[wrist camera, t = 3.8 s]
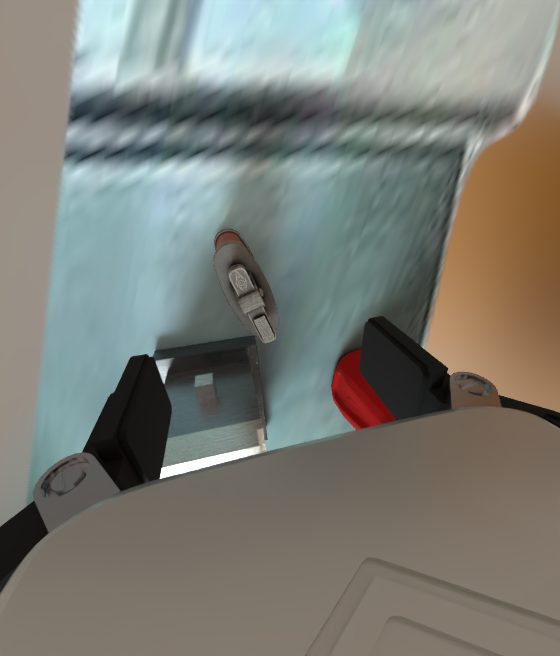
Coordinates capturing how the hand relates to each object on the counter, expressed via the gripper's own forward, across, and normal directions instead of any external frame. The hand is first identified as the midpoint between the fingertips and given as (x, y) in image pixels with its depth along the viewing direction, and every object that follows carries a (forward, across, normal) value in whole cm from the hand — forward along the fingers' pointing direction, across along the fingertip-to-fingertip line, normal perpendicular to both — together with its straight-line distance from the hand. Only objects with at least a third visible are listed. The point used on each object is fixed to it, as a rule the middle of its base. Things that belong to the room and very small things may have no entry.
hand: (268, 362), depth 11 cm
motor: (+17, +5, +17) cm, 24 cm away
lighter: (+17, 0, +1) cm, 17 cm away
